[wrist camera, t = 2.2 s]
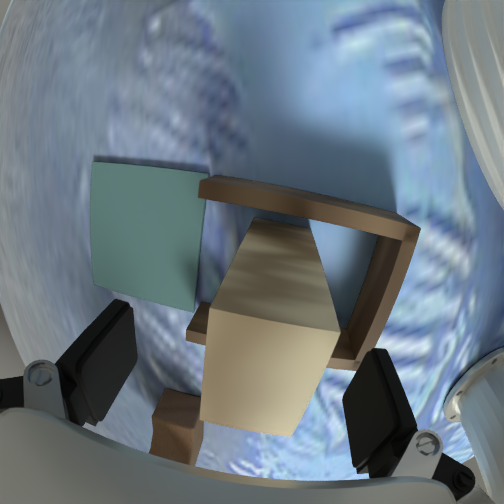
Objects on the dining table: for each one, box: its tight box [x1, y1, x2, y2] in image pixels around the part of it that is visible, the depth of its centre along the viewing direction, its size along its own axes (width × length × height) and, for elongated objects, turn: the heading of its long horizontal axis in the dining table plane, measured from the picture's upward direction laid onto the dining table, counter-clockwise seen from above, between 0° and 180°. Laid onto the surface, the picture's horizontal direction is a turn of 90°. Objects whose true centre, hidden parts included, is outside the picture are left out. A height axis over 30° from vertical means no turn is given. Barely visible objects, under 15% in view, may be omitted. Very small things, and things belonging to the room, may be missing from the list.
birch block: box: [200, 217, 341, 437], centre depth 15 cm, size 4×6×12 cm, turn 171°
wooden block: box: [149, 389, 204, 466], centre depth 20 cm, size 9×4×18 cm, turn 173°
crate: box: [186, 175, 421, 371], centre depth 18 cm, size 13×11×4 cm
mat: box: [90, 162, 210, 313], centre depth 21 cm, size 10×11×1 cm
